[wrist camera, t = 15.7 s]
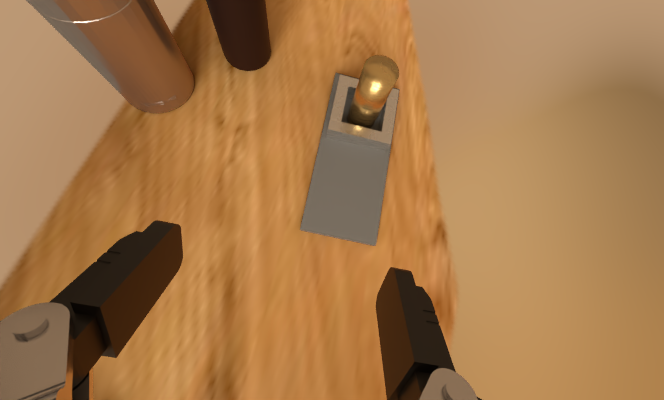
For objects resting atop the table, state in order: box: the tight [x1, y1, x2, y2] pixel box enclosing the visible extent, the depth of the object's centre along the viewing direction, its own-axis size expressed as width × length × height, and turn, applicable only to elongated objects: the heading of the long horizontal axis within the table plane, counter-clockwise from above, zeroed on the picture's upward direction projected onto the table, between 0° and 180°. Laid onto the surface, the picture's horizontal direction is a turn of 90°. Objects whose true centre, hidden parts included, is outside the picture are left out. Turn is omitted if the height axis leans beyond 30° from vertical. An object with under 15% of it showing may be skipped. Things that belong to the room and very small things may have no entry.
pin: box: [347, 55, 399, 129], centre depth 35 cm, size 4×4×10 cm
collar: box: [326, 75, 399, 152], centre depth 38 cm, size 9×9×2 cm
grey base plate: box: [300, 73, 400, 246], centre depth 39 cm, size 24×10×1 cm, turn 169°
